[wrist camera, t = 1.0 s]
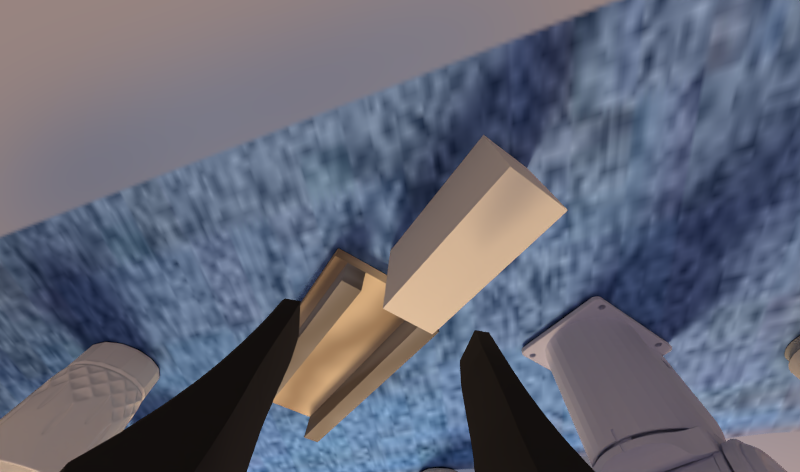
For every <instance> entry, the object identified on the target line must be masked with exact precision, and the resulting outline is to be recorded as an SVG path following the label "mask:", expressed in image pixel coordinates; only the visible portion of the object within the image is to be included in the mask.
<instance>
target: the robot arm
mask: <svg viewBox="0 0 800 472" xmlns="http://www.w3.org/2000/svg"><path fill="white" fill-rule="evenodd" d="M300 303H301V301H296V300H290V299H284V300H282V301H281V302H280V304H279V305H278V306H277V307H276V308H275V309H274V310H273V312H272V313H271V314H270V315H269V316H268V317H267V318H266V319H265V320H264V321H263V322H262V323H261V324H260V325H259V326H258V327H257V328H256V329H255V330H254V331H253V332H252V333H251V334H250V335H249V336H248V337H247V338H246V339H245V340H244V341H243V342H242V343H241V344H240V345H239V346H238V347H236V348H235V349H234V350H233V351H232V352H231V353H230V354H229V355H228V356H226V357H225V358H224V359H223V360H222V361H221V362H219V363H218V364H217V365H216V366H215V367H213V368H212V369H211V370H210V371H209V372H207V373H206V374H205V375H203V376H202V377H201V378H200V379H198V380H197V381H196V382H194V383H193V384H192V385H190V386H189V387H188V388H186V389H185V390H183V391H182V392H181V393H179V394H178V395H177V396H175V397H174V398H172V399H171V400H169V401H168V402H167V403H165V404H164V405H162V406H161V407H159V408H158V409H156V410H155V411H153V412H151V413H150V414H148V415H147V416H145V417H144V418H142V419H141V420H139V421H137V422H136V423H134V424H133V425H131V426H130V427H128V428H126V429H125V430H123V431H122V432H120V433H118V434H117V435H115V436H113V437H111V438H110V439H108V440H106V441H104V442H103V443H101V444H99V445H98V446H96V447H94V448H92V449H91V450H89V451H87V452H85V453H84V454H82V455H80V456H78V457H77V458H75V459H73V460H71V461H70V462H68V463H67V464H66V465H65V466H64V467H63V468H62V470H61V471H60V472H247V469H248V466H249V463H250V460H251V457H252V454H253V451H254V448H255V445H256V442H257V440H258V437H259V434H260V431H261V428H262V426H263V423H264V421H265V418H266V416H267V414H268V411H269V409H270V407H271V405H272V403H273V400H274V398H275V396H276V394H277V391H278V389H279V387H280V385H281V382H282V380H283V378H284V375H285V373H286V371H287V369H288V366H289V364H290V362H291V359H292V356H293V353H294V350H295V347H296V344H297V341H298V337H299V325H300ZM600 305H601V306H600ZM671 350H672V347H671V345H670V344H669V343H668V342H666V341H665V340H663V339H662V338H660V337H659V336H657V335H656V334H654V333H653V332H651V331H650V330H648V329H647V328H645V327H644V326H642V325H641V324H640V323H638V322H637V321H635V320H634V319H632V318H631V317H629V316H628V315H626V314H625V313H623V312H622V311H620V310H619V309H617V308H616V307H614V306H613V305H612V304H610V303H609V302H607V301H606V300H604V299H603V298H601V297H599V296H595V297H592V298H591V299H589V300H588V301H586V302H585V303H584V304H582V305H581V306H580V307H578V308H577V309H575V310H574V311H573V312H571V313H570V314H569V315H567V316H566V317H564V318H563V319H562V320H560V321H559V322H558V323H556V324H555V325H553V326H552V327H551V328H549V329H548V330H546V331H545V332H544V333H542V334H541V335H540V336H538V337H537V338H535V339H534V340H533V341H531V342H530V343H529V344H527V345H526V346H524V347H523V348H522V350H521V351H522V354H523V355H524V356H526V357H527V358H529V359H531V360H533V361H535V362H536V363H538V364H540V365H542V366H544V367H545V368H547V369H549V370H551V371H552V374H553V376H554V378H555V381H556V383H557V385H558V388H559V390H560V392H561V395H562V397H563V399H564V402H565V404H566V406H567V409H568V411H569V413H570V416H571V418H572V420H573V423H574V425H575V428H576V430H577V432H578V435H579V437H580V439H581V442H582V444H583V446H584V449H585V451H586V453H587V456H588V458H589V460H590V463H591V465H592V467H593V468H591V467H590V466H589V465H588V464H587V463H586V462H585V461H584V460H583V459H582V457H581V456H580V455H579V454H578V453H577V452H576V451H575V450H574V449H573V448H572V447H571V446H570V444H569V443H568V442H567V441H566V440H565V439H564V438H563V436H562V435H561V434H560V433H559V432H558V431H557V429H556V428H555V427H554V426H553V424H552V423H551V422H550V421H549V420H548V418H547V417H546V416H545V415H544V413H543V412H542V411H541V410H540V408H539V407H538V406H537V404H536V403H535V401H534V400H533V399H532V397H531V396H530V395H529V393H528V392H527V390H526V389H525V388H524V386H523V385H522V383H521V382H520V380H519V379H518V377H517V376H516V374H515V373H514V371H513V370H512V368H511V367H510V365H509V364H508V362H507V360H506V359H505V357H504V356H503V354H502V353H501V351H500V349H499V348H498V346H497V345H496V343H495V341H494V340H493V338H492V337H491V335H490V333H489V332H483V331H477V330H475V331H474V333H473V335H472V337H471V339H470V341H469V343H468V345H467V347H466V349H465V352H464V354H463V356H462V358H461V360H460V374H461V387H462V393H463V399H464V405H465V410H466V416H467V421H468V427H469V433H470V438H471V444H472V451H473V458H474V469H475V472H787V471H786V470H784V469H783V468H782V467H781V466H780V465H779V464H778V463H776V461H774V460H773V459H772V458H771V457H770V456H769V455H767V454H766V453H765V452H763V451H762V450H760V449H758V448H756V447H753V446H751V445H748V444H745V443H743V442H741V441H739V440H737V439H730V440H728V441H727V442H726V440H725V437H724V434H723V432H722V430H721V428H720V427H719V425H718V423H717V422H716V421H715V419H714V418H713V417H712V416H711V414H710V413H709V412H708V411H707V409H706V408H705V407H704V406H703V405H702V403H701V402H700V401H699V400H698V398H697V397H696V396H695V395H694V394H693V392H692V391H691V390H690V389H689V387H688V386H687V385H686V384H685V382H684V381H683V380H682V379H681V378H680V376H679V375H678V374H677V373H676V371H675V370H674V369H673V368H672V367H671V365H670V364H669V363H668V362H667V360H666V359H665V358H664V357H663V355H665V354H666V353H668V352H670V351H671Z"/></svg>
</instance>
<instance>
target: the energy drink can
mask: <svg viewBox="0 0 800 472" xmlns="http://www.w3.org/2000/svg"><path fill="white" fill-rule="evenodd" d="M785 357H786V359H787V360H788V361H789V370H790V371H791V372H792V373H793V374H794V375H795V376H796V377H797V378H799V379H800V336H799V337H797V338H796V339H794V340H793V341H792V342H791V343H790V344H789V345H788V347H787V348H786V350H785Z"/></svg>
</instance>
